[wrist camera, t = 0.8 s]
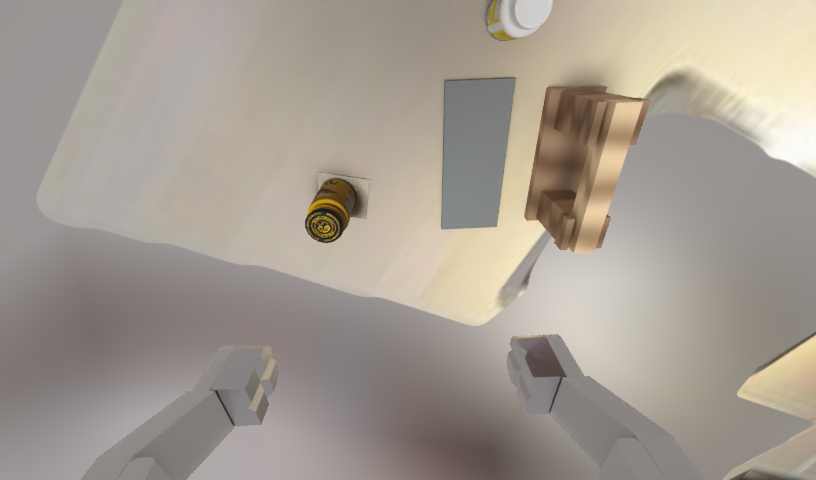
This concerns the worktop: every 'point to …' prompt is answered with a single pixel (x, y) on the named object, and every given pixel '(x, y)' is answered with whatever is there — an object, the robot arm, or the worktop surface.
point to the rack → (567, 155)
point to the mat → (474, 150)
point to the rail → (602, 172)
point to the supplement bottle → (516, 17)
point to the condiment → (336, 206)
